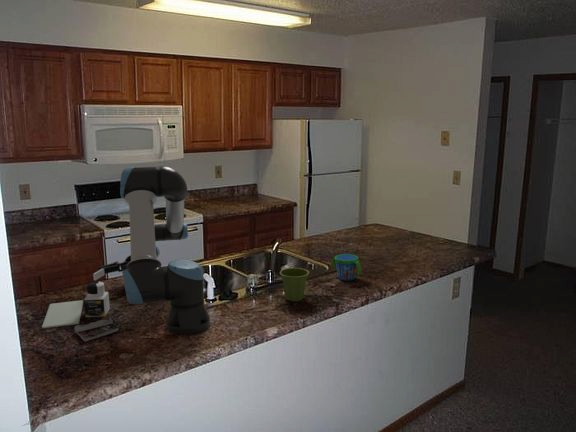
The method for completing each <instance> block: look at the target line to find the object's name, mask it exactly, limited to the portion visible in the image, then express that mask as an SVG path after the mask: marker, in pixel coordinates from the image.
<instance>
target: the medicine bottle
mask: <svg viewBox="0 0 576 432" xmlns="http://www.w3.org/2000/svg"><path fill="white" fill-rule="evenodd" d="M86 293H87V294H86V296H85V298H84V299H83V305H84V306H83V307H84V315H85V316H84V317H85V318H97V317H98V318H99V317H103V318H104V317H106V315H107V314H108V312H109V311H110V309H111V308H110V296H109V291H105V283H104V282H103V281H99V280H98V281H97V280H94V281H91V282H89V283H87V285H86Z"/></svg>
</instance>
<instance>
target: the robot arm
mask: <svg viewBox="0 0 576 432" xmlns="http://www.w3.org/2000/svg"><path fill="white" fill-rule="evenodd" d="M119 184H120V186H119V187H120V188H119V191H120V198H121V199H123V200H124V202H125V203H126V205H128V209H129V212H128V213H129V238H130V243H129V244H130V255H129V256H126V258H125V260H124V261H122V262H119V261H114V262H112V263H108V264H105V265H100V266H98V267H97V271H96V272H94V273H93V274H92V275H93V281H97V280H99V279H100V278H102V277H104V276H105V275H106V274H110V273H115V272H117V273H120V272H121V273H122V279H123V285H124V289H125V294H126V299H127V302H128V303H129V304H132V305H134V304H141V305H144V304H148V303H156V302H157V303H159V302H168V301H170V302H169V303H170V305H169V306H170V308H169V310H168V315H167V318H166V330H167V331H168V332H169V333H172V334H174V335H185V336H187V335H194V334H198V333H201V332H204V331H205V330H208V328H209V327H210V326H211V319H210V315H209V313H208V312H209V311H208V309H207V308H206V305H205V293H204V278H205V277H204V273H203V266H202V265H201V264H199V263H198V262H195V261H193V260H188V259H187V260H186V259H175V260H171V261H169V262H168V264H167V266H162V262H161V261H160V260H159V259H158V258H159V256H160V252H161V251H160V248H159V246H157V244H156V242H166V241H181V240H186V239H188V236H189V229H188V224H187V223H186V222H185V199H186V198H187V197H188V186H187V185H188V184H187V181H186V180H185V178H184V177H183V176H182V175H181V174H180V173H179V171H176V170H175V169H173V168H171V167H169V166H162V165H161V166H145V167H136V166H132V167H125V168H123V170H122V172H121V174H120V183H119ZM162 197H164V199H165V221H166V223H163V224H155V215H154V213H155V212H154V205H155V203H156V202H157V199H158V198H162Z"/></svg>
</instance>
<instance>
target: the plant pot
mask: <svg viewBox="0 0 576 432" xmlns="http://www.w3.org/2000/svg"><path fill="white" fill-rule="evenodd" d="M279 274H280V275H281V280H282V283H283V284H282V286H283V291H284V296H285V299H286V300H287V301H289V302H295V303H296V302H301V301H302V300H303V299H304V296H305V290H306V285H307V284H306V283H307V281H308V277H309V274H310V271H309V270H307V269H305V268H301V267H288V268H284V269H281V270H280V271H279Z"/></svg>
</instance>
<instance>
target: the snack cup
mask: <svg viewBox="0 0 576 432" xmlns="http://www.w3.org/2000/svg"><path fill="white" fill-rule="evenodd" d="M331 267H332V269H335V268H336V272H337V273H336V276H337V278H338V279H339V280H340V281H344V282H347V281H349V282H350V281H353V280H355V277H356V276H360V275H361V274H362V273H363V272H362V265H361V262H360V261H359V256H357V255H355V254H351V253H342V254H341V253H340V254H338V255H335V256H334V257H333V258H332V262H331ZM356 272H357V273H356ZM356 274H357V275H356Z"/></svg>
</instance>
